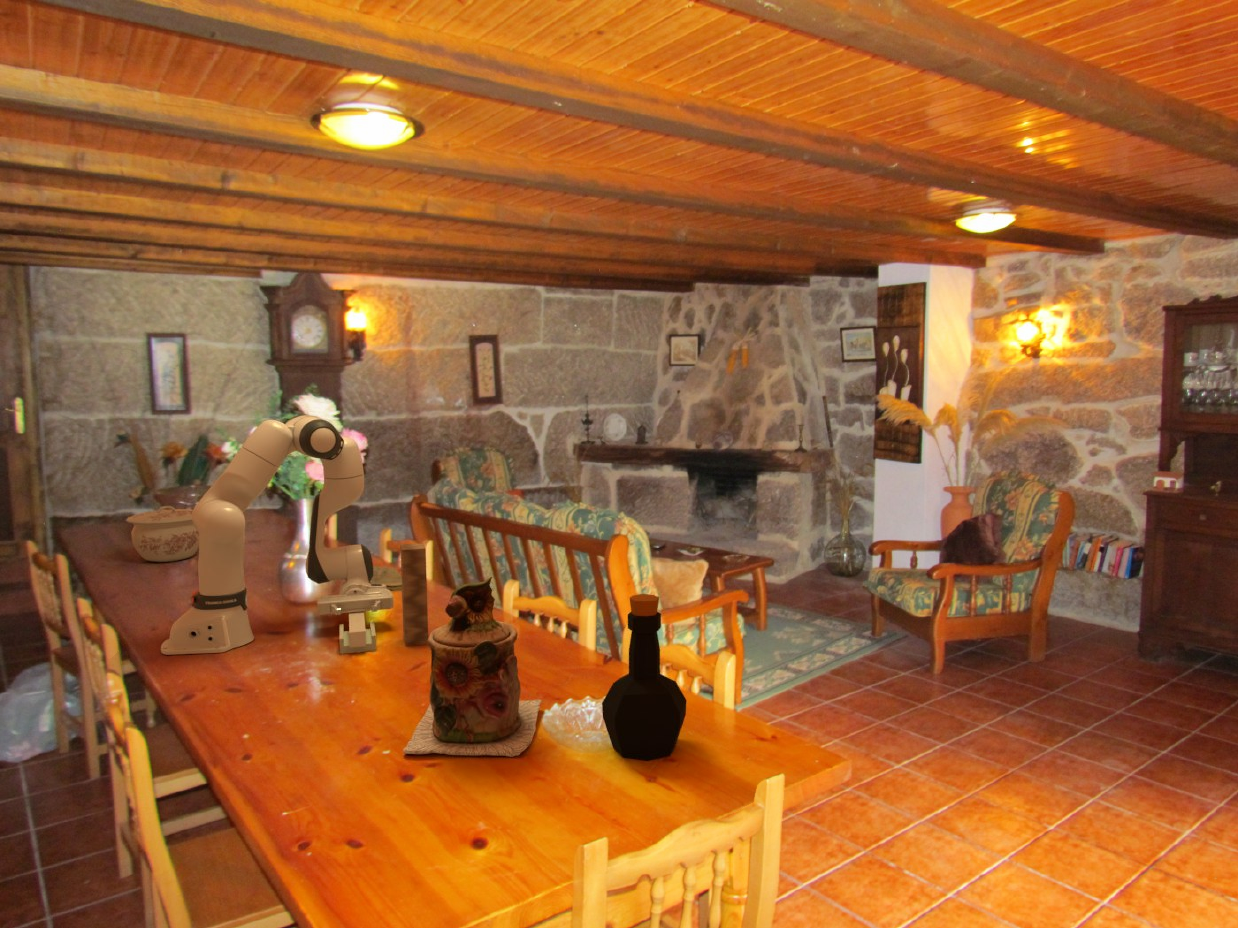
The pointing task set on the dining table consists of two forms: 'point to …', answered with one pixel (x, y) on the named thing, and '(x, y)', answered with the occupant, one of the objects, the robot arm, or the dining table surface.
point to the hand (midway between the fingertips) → (356, 610)
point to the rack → (346, 647)
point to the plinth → (414, 594)
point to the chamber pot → (165, 534)
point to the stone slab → (387, 578)
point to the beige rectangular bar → (357, 629)
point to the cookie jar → (474, 684)
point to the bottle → (644, 692)
